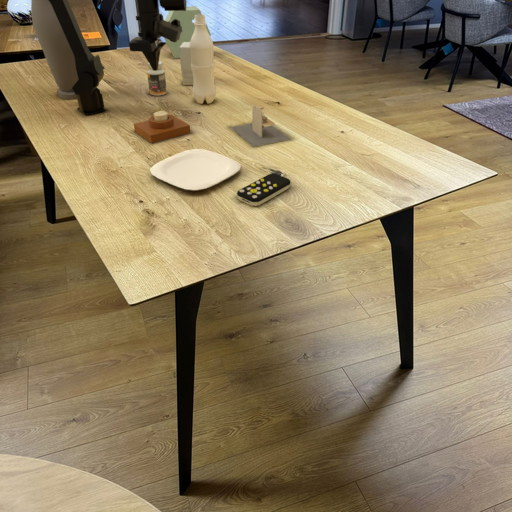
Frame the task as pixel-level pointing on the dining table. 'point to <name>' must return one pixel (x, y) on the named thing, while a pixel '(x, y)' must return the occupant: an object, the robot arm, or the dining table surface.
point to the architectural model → (259, 130)
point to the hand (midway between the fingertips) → (155, 70)
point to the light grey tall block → (186, 63)
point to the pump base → (161, 128)
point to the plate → (195, 169)
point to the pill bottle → (156, 80)
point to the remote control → (263, 189)
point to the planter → (183, 27)
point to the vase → (55, 47)
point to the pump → (160, 116)
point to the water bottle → (202, 62)
